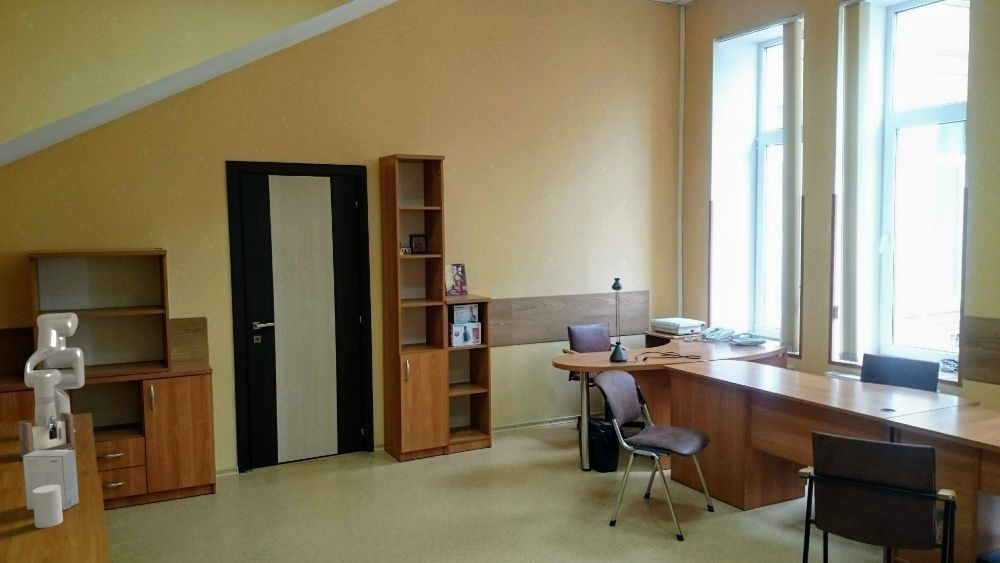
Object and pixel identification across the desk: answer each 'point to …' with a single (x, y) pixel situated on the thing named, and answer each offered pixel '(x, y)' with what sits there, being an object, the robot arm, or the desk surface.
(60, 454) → the hard drive box
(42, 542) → the desk surface
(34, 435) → the door panel
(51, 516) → the white cylinder
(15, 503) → the desk surface
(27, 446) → the door frame
